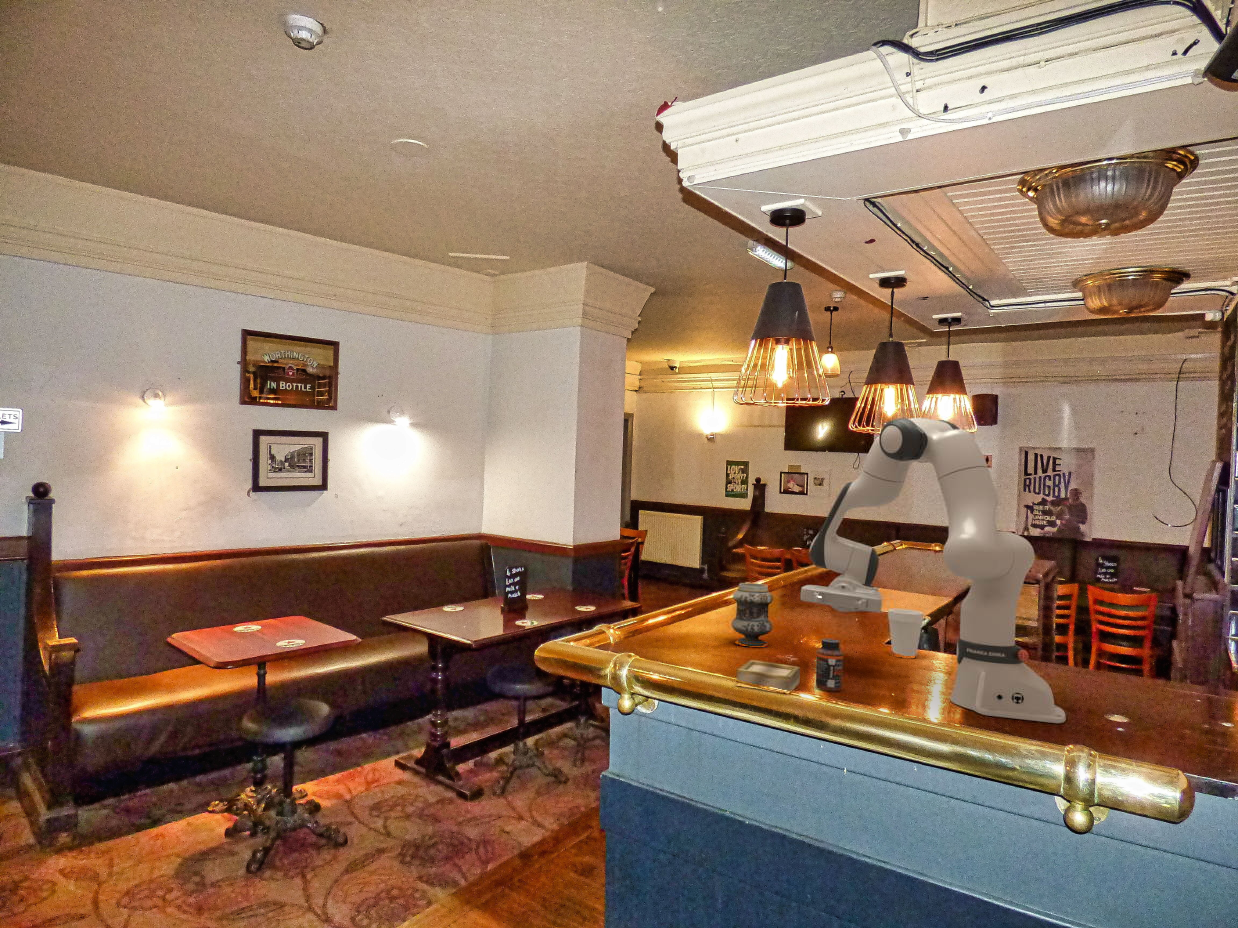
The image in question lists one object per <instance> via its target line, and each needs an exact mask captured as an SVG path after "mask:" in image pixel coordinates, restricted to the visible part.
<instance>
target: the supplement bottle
mask: <svg viewBox="0 0 1238 928" xmlns="http://www.w3.org/2000/svg"><path fill="white" fill-rule="evenodd" d="M843 665H844V653H843V650H841V649H840V641H839V640H838V639H831V638H823V639H821V647H819V648H818V649H817V652H816V665H815V666H816V671H815V687H816V688H817V689H818V690H821V691H827V692H839V691H841V690H842V687H843V667H844V666H843Z"/></svg>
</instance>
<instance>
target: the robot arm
mask: <svg viewBox="0 0 1238 928" xmlns="http://www.w3.org/2000/svg"><path fill="white" fill-rule="evenodd" d="M915 462H916V463H920V464H924V463H925V464H926V463H930V464H931V465H932V466H933V468H934V472H935V474H936V478H937V481H938V484H939V488H940V491H941V493H942V497H943V501H944V505H945V508H946V512H947V518H948V536H947V540H946V542H945V544H944V546H943V550H942V558H943V562H944V564H945V566H946V568H947V569H948V570H949V572H951V573H952V574H954V575H956V576H958V577H960V578H963V579H967V580H971V581H972V582H971V586H970V588H969V591H968V593H967V594H966V596H965V598H964V599H963V600H962V602H961V605H960V620H959V621H960V624H959V628H960V629H959V637H958V638H957V643H956V662H957V670H956V676H955V681H954V684H953V689H952V693H951V694H950V697H949V700H950V701H951V702H952V703H953V704H955V705H957V706H960V707H963V708H965V709H969V710H971V711H974V712H976V713H978V714H980V715H983V716H990V717H991V716H992V717H997V718H999V717H1000V718H1008V719H1015V720H1016V719H1017V720H1025V721H1036V722H1041V723H1042V722H1044V723H1053V724H1062V723H1064V722H1065V721H1066V718H1067V717H1066V712H1065V711H1064V710H1063V709H1062V708H1061V707H1059V706H1058V705H1055V701H1054V700H1055V699H1054V695H1053V690H1052V689H1051V687H1050V685H1049V684H1048V682H1047V681H1046V680H1044V679H1043V678H1042V677H1041V676H1040V675H1039V674H1037V673H1036V672H1035V671H1034V670H1033V669H1032V668H1030V667H1029V666H1028V665H1027V664H1026V663H1025V661H1027V660H1029V657H1030V656H1029V653H1028V651H1027V650H1025V649H1024V648H1022V647H1021V646H1019V645H1017V644H1016V620H1017V618H1016V617H1017V610H1018V609H1017V608H1018V602H1019V599H1020V596H1021V593H1022V589H1023V585H1024V582H1025V578H1026V576H1027V574H1028V572H1029V571H1030V569H1031V568H1032V567H1033V565H1034V562H1035V557H1036V556H1035V551H1034V548H1033V545H1031V542H1029V541H1028V540H1027V539H1026V538H1024V537H1023V536H1020V535H1019V534H1016V533H1013V532H1011V531H1004V530H1003V531H1002V530H1000V531H999V530H998V528H997V522H996V508H997V506H998V504H999V496H998V493H997V490H996V487H995V484H994V482H993V478H992V476H991V472H990V470H989V466H988V465H987V461H986V459H985V457H984V454H983V453H982V450H981V447H979V445H978V443H977V441H976V440H975V438H974V436H973V435H972V434H971V433H970V432H969V431H967V430H964V429H960V428H959V427H958V426H957V425H956V424H954V423H953V422H950V421H947V420H942V419H941V420H937V419H931V418H924V417H910V418H907V417H899V418H895V419H891V420H890V421H888V422H886V423H885V424H884V425H883V426H882V428H881V430H880V433H879V435H878V436H877V437H876V438H875V440H874V441H873V443H872V445H871V447H870V449H869V451H868V453H867V456H866V458H865V460H864V463H863V467H862V469H861V472H860V474H859V476H858V477H857V478H856V479H854V481H851V482H849V481H848V482H847V483H845V485H844V486H843V488H842V489H841V491H840V492H839V494H838V495H837V498H836V500H835V501H834V504H833V505H832V507H831V509H830V511H829V513H828V515H827V517H826V519H825V521H824V522H823V525H822V527H821V528H820V530H819V531H818V533H817V535H816V536H815V537H814V538H813V541H811V543H810V547H809V550H808V551H809V553H808V556H809V559H810V560H811V562H812V563H813V565H814V566H815V567H817V568H821V569H825V570H831V571H833V572H836V573H838V574H840V575H838V576H836V577H835V578H834V579H833V580H832V581H831V583H830V584H829V585H828V586H822V585H816V584H814V585H813V584H806V585H804V586H802V587H801V589H800V600H801V601H803V602H807V603H812V604H813V603H814V604H819V605H827V606H830V607H831V608H832V609H834V610H835V611H837V612H839V613H840V612H841V613H849V612H868V613H882V608H883V607H882V605H883V595H882V594H881V592H880V591H879V587H876V586H873V585H872V584H873V582H874V580H875V578H876V575H877V571H878V568H879V562H880V558H879V555H878V553H877V551H876V549H875V548H874V547H872V546H870V545H866V544H863V543H860V542H857V541H853V540H850V539H847V538H845V537H841V536H839V535H838V534H837V530H838V529H839V527H840V525H841V523H842V521H843V519H844V517H845V516H846V513H847V512H849V511H850V510H853V509H857V508H873V507H874V508H875V507H882V506H886V505H888V504H891V503H892V502H894V501H895V500H897V499H898V498H899V496H900V494H901V492H902V489H903V487H904V485H905V483H906V479H907V475H908V472H909V469H910V467H911V465H912V464H913V463H915Z"/></svg>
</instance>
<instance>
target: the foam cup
mask: <svg viewBox="0 0 1238 928" xmlns="http://www.w3.org/2000/svg"><path fill="white" fill-rule="evenodd" d="M887 610H888V611H887V612H888V613H887V618H888V624H889V631H890V643H891V644H890V645H891V652H892V651H893V652H894V653H896V654H900V655H904V656H915V655H916V654H917V653H918V648H919V643H920V637H921V630H922V625H923V622H924V613H923V612H922V611H919V610H914V609H912V610H911V609H905V608H889V609H887ZM916 656H917V655H916Z"/></svg>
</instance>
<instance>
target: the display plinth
mask: <svg viewBox="0 0 1238 928" xmlns="http://www.w3.org/2000/svg"><path fill="white" fill-rule="evenodd" d="M736 672H737V673H736V681H737V680H740V681H743V682H747V683H752V684H756V685H762V686H769V687H775V688H778V689H782V690H787V691H791V692H792V691H794V689H795V688H797V686H799V684H800V681H801V680H800V678H801V674H800V673H801V666H796V665H788V664H782V663H781V664H780V663H775V662H774V663H773V662H769V661H768V662H767V661H761V660H754V659H750V660H749V661H747V662H746V663H745V664H743V665H741V666H740V667H738V669H737V671H736Z"/></svg>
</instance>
